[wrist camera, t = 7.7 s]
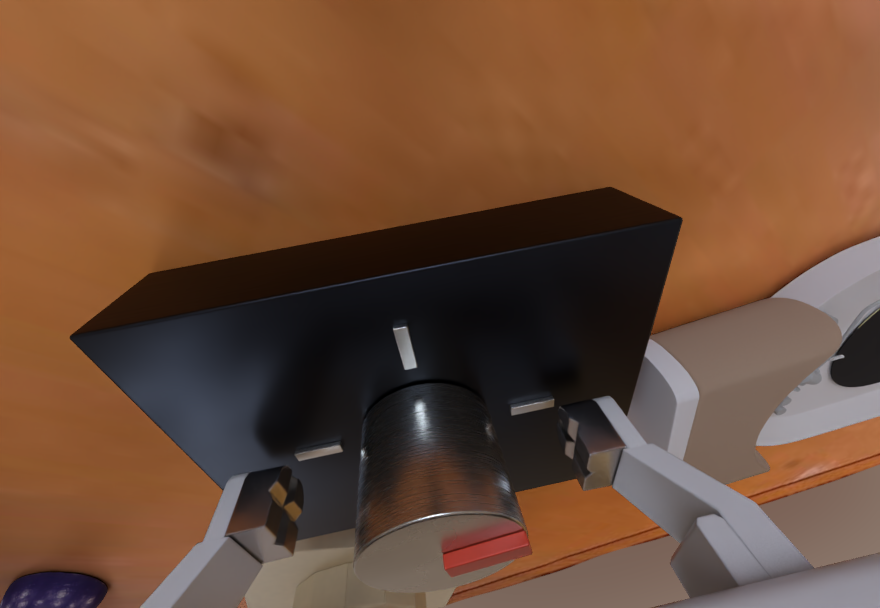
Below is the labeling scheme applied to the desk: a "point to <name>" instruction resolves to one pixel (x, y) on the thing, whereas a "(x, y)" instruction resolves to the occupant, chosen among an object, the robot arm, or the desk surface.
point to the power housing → (328, 580)
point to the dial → (433, 493)
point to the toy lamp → (54, 591)
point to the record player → (767, 370)
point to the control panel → (393, 338)
